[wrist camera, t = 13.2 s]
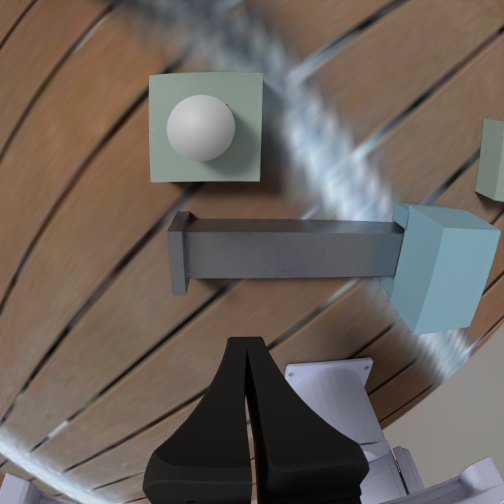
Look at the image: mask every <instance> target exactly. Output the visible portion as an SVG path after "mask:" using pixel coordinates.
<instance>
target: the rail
mask: <svg viewBox="0 0 504 504" xmlns="http://www.w3.org/2000/svg"><path fill="white" fill-rule="evenodd" d="M404 233H405V229H404V228H403V227H402V226H400V225H399V224H398V223H396V222H370V221H337V220H290V219H190V212H177V214H176V215H175V217H174V219H173V221H172V223H171V225H170V227H169V229H168V231H167V237H168V249H169V261H170V272H171V282H172V292H173V295H186V294H187V289H188V285H189V280H190V278H316V277H362V276H395V275H396V271H397V266H398V262H399V257H400V253H401V248H402V243H403V238H404Z"/></svg>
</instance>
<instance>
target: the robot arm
mask: <svg viewBox="0 0 504 504" xmlns="http://www.w3.org/2000/svg"><path fill="white" fill-rule="evenodd" d="M372 364H373V360H372V358H369V357H368V358H359V359H349V360H339V361H327V362H314V363H298V364H289V365H288V366H287V367H286V370H285V377H284V376H283V375H282V373H281V372H280V370H279V368H278V367H277V365H276V364H275V362H274V360H273V359H272V357H271V355H270V353H269V351H268V349H267V347H266V345H265V343H264V340H263V338H262V337H230V338H228V339H227V346H226V350H225V353H224V356H223V359H222V361H221V364H220V366H219V369H218V371H217V373H216V375H215V377H214V379H213V381H212V383H211V385H210V387H209V388H208V390H207V392H206V393H205V395H204V397H203V398H202V400H201V401H200V403H199V404H198V405H197V407H196V408H195V409H194V411H193V412H192V413H191V415H190V416H189V417H188V418H187V420H186V421H185V422H184V423H183V424H182V425H181V426H180V427H179V428H178V429H177V430H176V431H175V433H174V434H173V435H172V436H171V437H169V438H168V439H167V440H166V441H165V442H164V443H163V444H162V445H160V446H159V447H158V448H157V449H156V450H155V451H154V452H153V454H152V456H151V458H150V460H149V462H148V465H147V468H146V471H145V474H144V481H143V487H142V489H143V492H144V493H145V495H146V496H147V498H148V499H149V501H150V502H151V504H251V495H252V471H251V461H250V453H249V444H248V434H247V423H246V411H245V397H246V398H247V404H248V411H249V417H250V422H251V428H252V434H253V441H254V453H255V469H256V485H257V503H258V504H503V503H504V482H503V480H502V479H501V476H500V474H499V472H498V471H497V469H496V467H495V465H494V463H493V461H492V459H491V458H490V456H487V457H485V458H484V459H481V460H479V461H477V462H475V463H473V464H471V465H469V466H468V467H466V468H465V469H464V470H463V471H462V472H461V473H460V474H459V476H457V477H455V478H452V479H450V480H447V481H445V482H442V483H440V484H437V485H435V486H432V487H429V488H427V489H424V486H423V483H422V481H421V478H420V475H419V473H418V470H417V468H416V466H415V463H414V461H413V459H412V456H411V454H410V452H409V450H407V449H405V448H401V447H400V446H397V447H396V448H394V449H393V451H394V454H395V456H396V459H397V460H396V461H397V464H398V466H397V464H396V461H395V459H394V456H393V454H392V452H391V449H390V447H389V445H388V443H387V440H385V437H384V435H383V432H382V430H381V427H380V425H379V422H378V420H377V417H376V415H375V412H374V410H373V408H372V405H371V403H370V400H369V398H368V396H367V393H366V391H365V388H364V387H365V384H366V381H367V378H368V376H369V373H370V370H371V367H372ZM290 373H291V374H290ZM398 467H399V469H398ZM399 470H400V472H399ZM0 504H80V503H76V502H72V501H69V500H66V499H62V498H59V497H56V496H53V495H50V494H47V493H44V492H42V491H41V490H40V489H39V488H38V487H37V486H36V485H35V484H33V483H31V482H30V481H27V480H25V479H22V478H20V477H17V476H15V475H12V474H10V473H6V475H5V478H4V481H3V483H2V486H1V489H0Z"/></svg>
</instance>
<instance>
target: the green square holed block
mask: <svg viewBox="0 0 504 504" xmlns="http://www.w3.org/2000/svg"><path fill="white" fill-rule="evenodd" d="M475 191H476V192H478V193H480V194H482V195H484V196H486V197H488V198H491V199H493V200H496V201H503V202H504V122H502V121H496V120H490V119H483V131H482V141H481V151H480V159H479V167H478V174H477V180H476V186H475Z"/></svg>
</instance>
